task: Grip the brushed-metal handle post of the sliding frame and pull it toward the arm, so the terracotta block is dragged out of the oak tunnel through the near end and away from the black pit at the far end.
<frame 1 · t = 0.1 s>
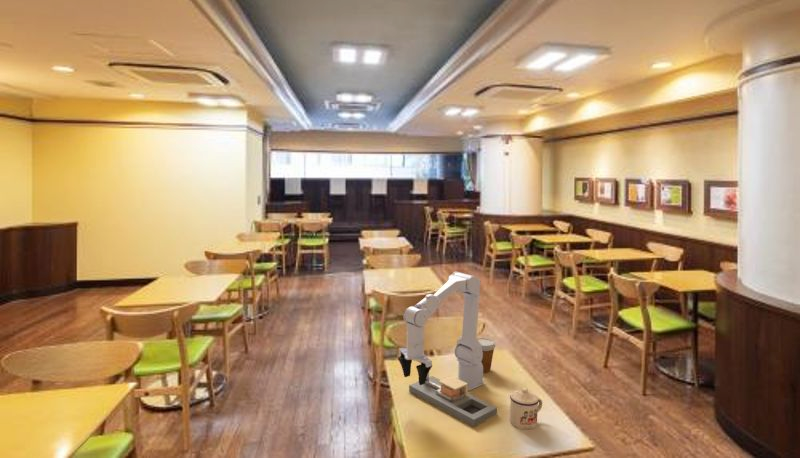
hand: (414, 380, 164), 10 cm above the table, tool pointing down, fingers open, 7 cm apart
disposable coffee cup: (482, 370, 196), on the table
terracotta block: (450, 395, 169), point 2 cm above the table, touching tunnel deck
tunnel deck: (450, 401, 169), on the table
teacup with lid: (526, 422, 157), on the table
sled: (440, 381, 172), point 6 cm above the table, slide at 0.0 cm
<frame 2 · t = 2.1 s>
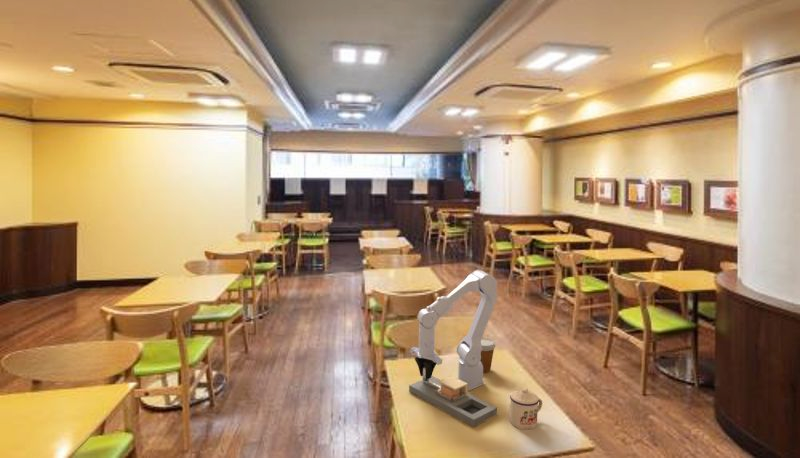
hand: (425, 376, 178), 5 cm above the table, tool pointing down, fingers closed on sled, 2 cm apart
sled: (440, 381, 172), point 6 cm above the table, slide at 0.0 cm, touching gripper
everything else where it was.
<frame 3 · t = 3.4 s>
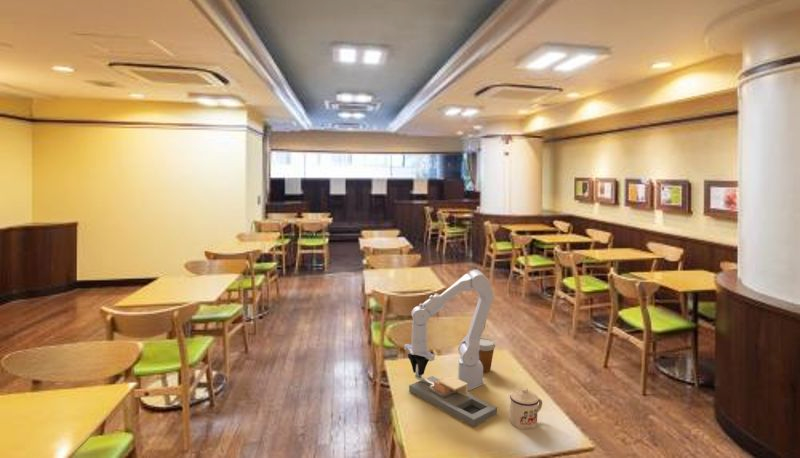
hand: (418, 373, 181), 5 cm above the table, tool pointing down, fingers closed on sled, 2 cm apart
terracotta block: (443, 391, 171), point 3 cm above the table, touching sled
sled: (433, 378, 175), point 6 cm above the table, slide at -3.9 cm, touching gripper, terracotta block
everything else where it was.
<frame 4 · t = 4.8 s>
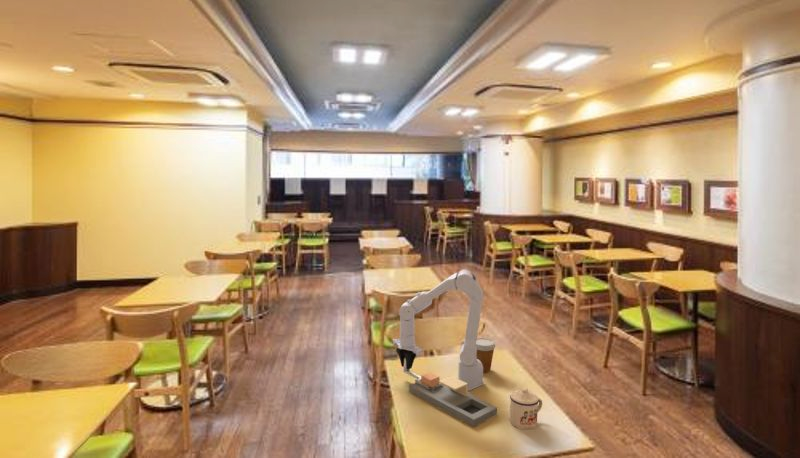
hand: (406, 367, 186), 5 cm above the table, tool pointing down, fingers closed on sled, 2 cm apart
terracotta block: (430, 385, 176), point 2 cm above the table, touching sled, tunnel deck
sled: (420, 371, 180), point 6 cm above the table, slide at -10.7 cm, touching gripper, terracotta block
everything else where it was.
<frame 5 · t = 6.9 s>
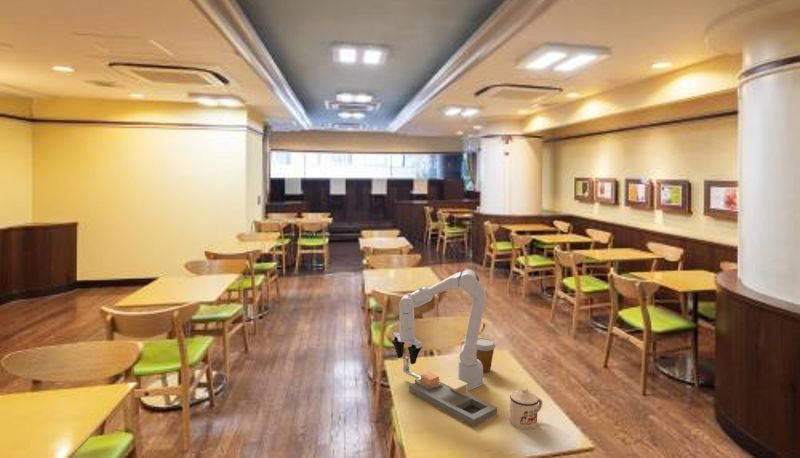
hand: (406, 360, 186), 8 cm above the table, tool pointing down, fingers open, 7 cm apart
terracotta block: (429, 384, 177), point 2 cm above the table, touching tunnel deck
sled: (419, 371, 180), point 6 cm above the table, slide at -11.0 cm
everything else where it was.
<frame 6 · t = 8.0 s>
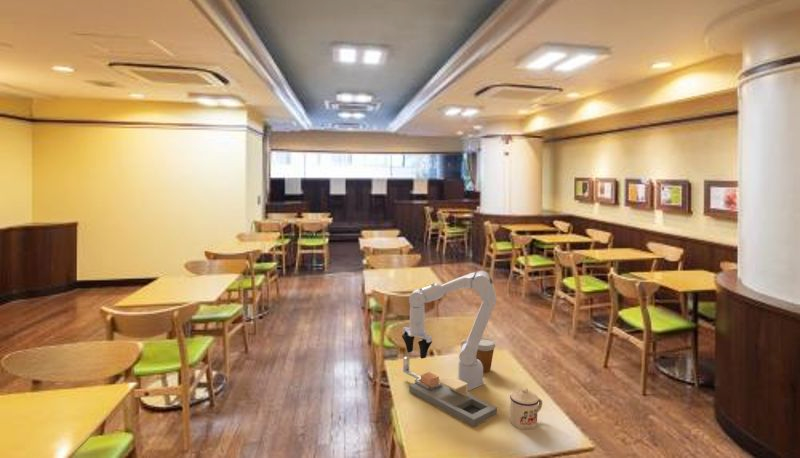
hand: (416, 354, 185), 10 cm above the table, tool pointing down, fingers open, 7 cm apart
nothing on the table moved.
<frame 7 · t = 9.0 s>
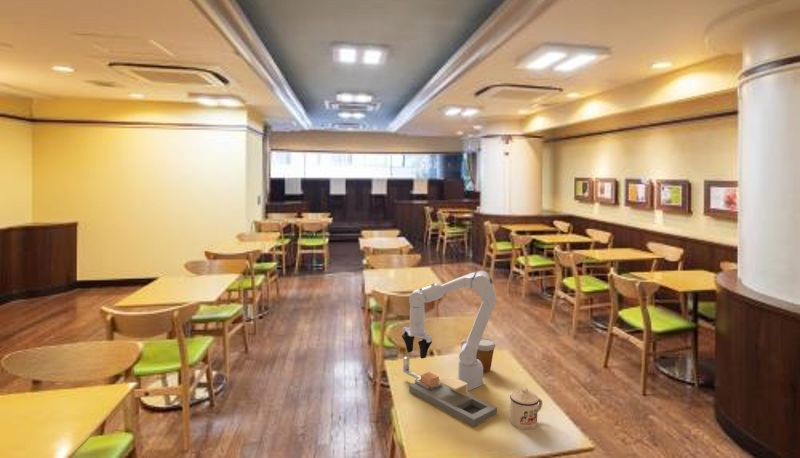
hand: (416, 354, 185), 10 cm above the table, tool pointing down, fingers open, 7 cm apart
nothing on the table moved.
at the end: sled slide at -11.0 cm; terracotta block inside the target area (0.6 cm from its centre), point 2.5 cm above the table; terracotta block tilted 0° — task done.
